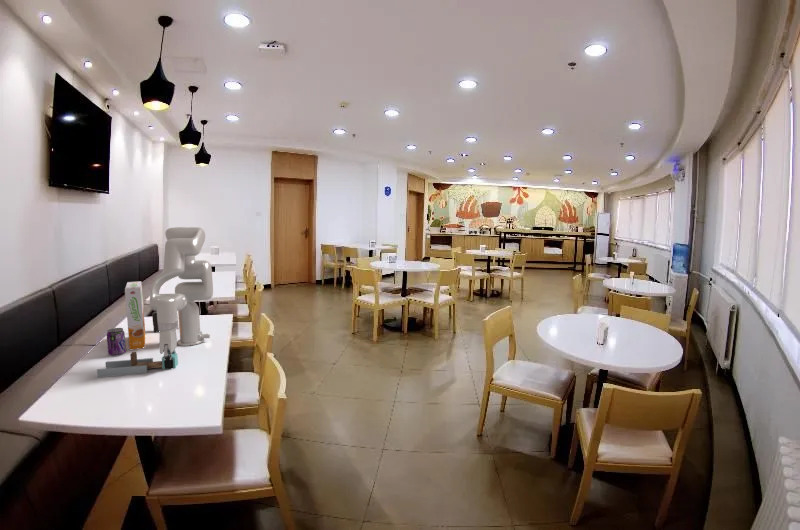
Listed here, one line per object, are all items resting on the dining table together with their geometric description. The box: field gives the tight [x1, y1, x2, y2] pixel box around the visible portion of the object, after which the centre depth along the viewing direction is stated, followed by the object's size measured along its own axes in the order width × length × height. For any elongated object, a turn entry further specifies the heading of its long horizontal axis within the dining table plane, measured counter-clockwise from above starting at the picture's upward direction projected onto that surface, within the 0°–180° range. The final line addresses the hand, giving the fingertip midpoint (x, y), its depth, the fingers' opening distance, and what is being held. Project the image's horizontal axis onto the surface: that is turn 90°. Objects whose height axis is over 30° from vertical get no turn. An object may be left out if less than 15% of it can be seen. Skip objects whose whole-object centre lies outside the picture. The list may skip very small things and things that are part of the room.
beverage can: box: [106, 327, 127, 357], centre depth 199 cm, size 7×7×12 cm
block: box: [161, 353, 179, 370], centre depth 184 cm, size 5×5×5 cm
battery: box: [151, 311, 160, 333], centre depth 236 cm, size 7×4×11 cm, turn 119°
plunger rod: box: [129, 351, 162, 370], centre depth 182 cm, size 12×3×7 cm, turn 106°
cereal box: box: [124, 280, 146, 350], centre depth 215 cm, size 22×6×30 cm, turn 30°
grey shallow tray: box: [96, 357, 154, 378], centre depth 180 cm, size 18×10×3 cm, turn 106°
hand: (170, 365), depth 185 cm, fingers closed on block, 5 cm apart
